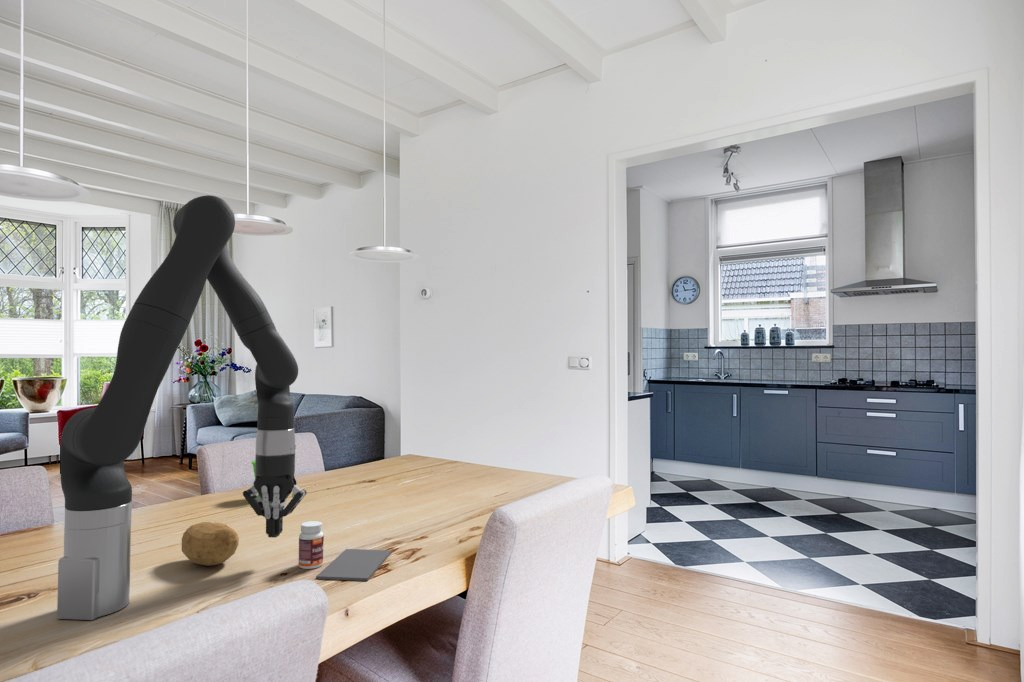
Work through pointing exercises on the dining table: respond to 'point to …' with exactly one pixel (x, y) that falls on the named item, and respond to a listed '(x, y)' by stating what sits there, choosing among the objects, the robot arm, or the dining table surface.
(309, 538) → the pill bottle
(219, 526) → the potato
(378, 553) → the mat
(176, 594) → the dining table surface
